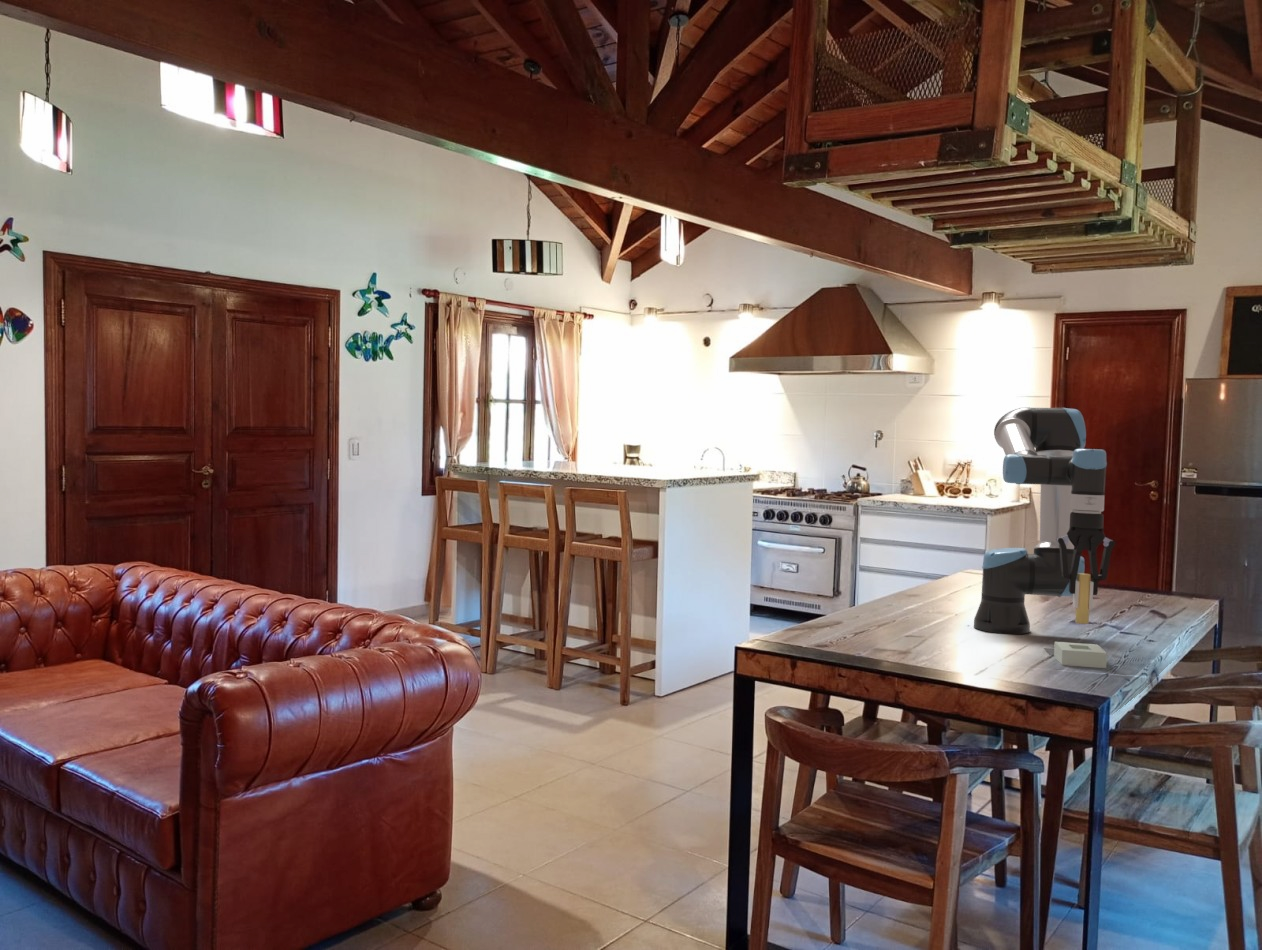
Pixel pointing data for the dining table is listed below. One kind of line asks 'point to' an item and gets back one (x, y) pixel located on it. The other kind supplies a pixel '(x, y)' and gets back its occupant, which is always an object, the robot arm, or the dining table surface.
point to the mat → (1049, 651)
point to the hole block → (1080, 654)
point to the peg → (1083, 599)
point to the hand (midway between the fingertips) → (1082, 607)
